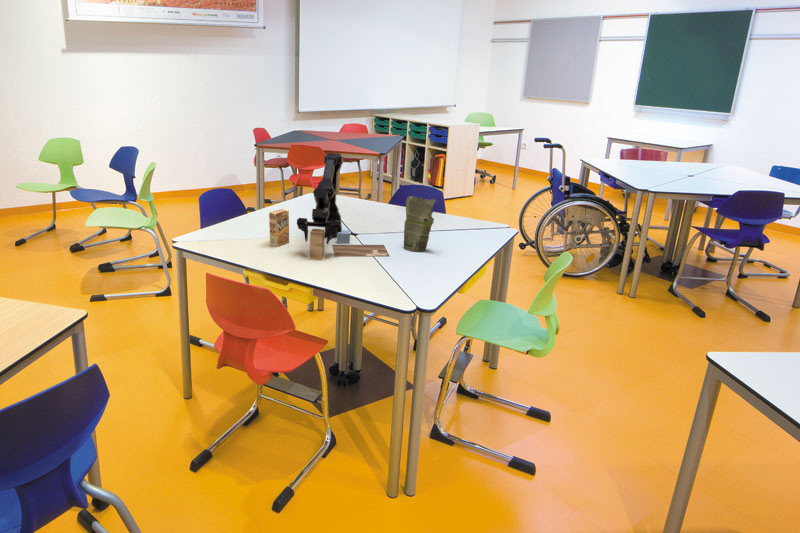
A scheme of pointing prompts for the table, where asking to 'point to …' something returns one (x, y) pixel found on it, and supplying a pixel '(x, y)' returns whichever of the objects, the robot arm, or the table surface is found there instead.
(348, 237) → the slate cube
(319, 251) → the oak block
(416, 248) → the pouch
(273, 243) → the candy box
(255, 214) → the table surface
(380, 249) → the board
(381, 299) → the table surface
